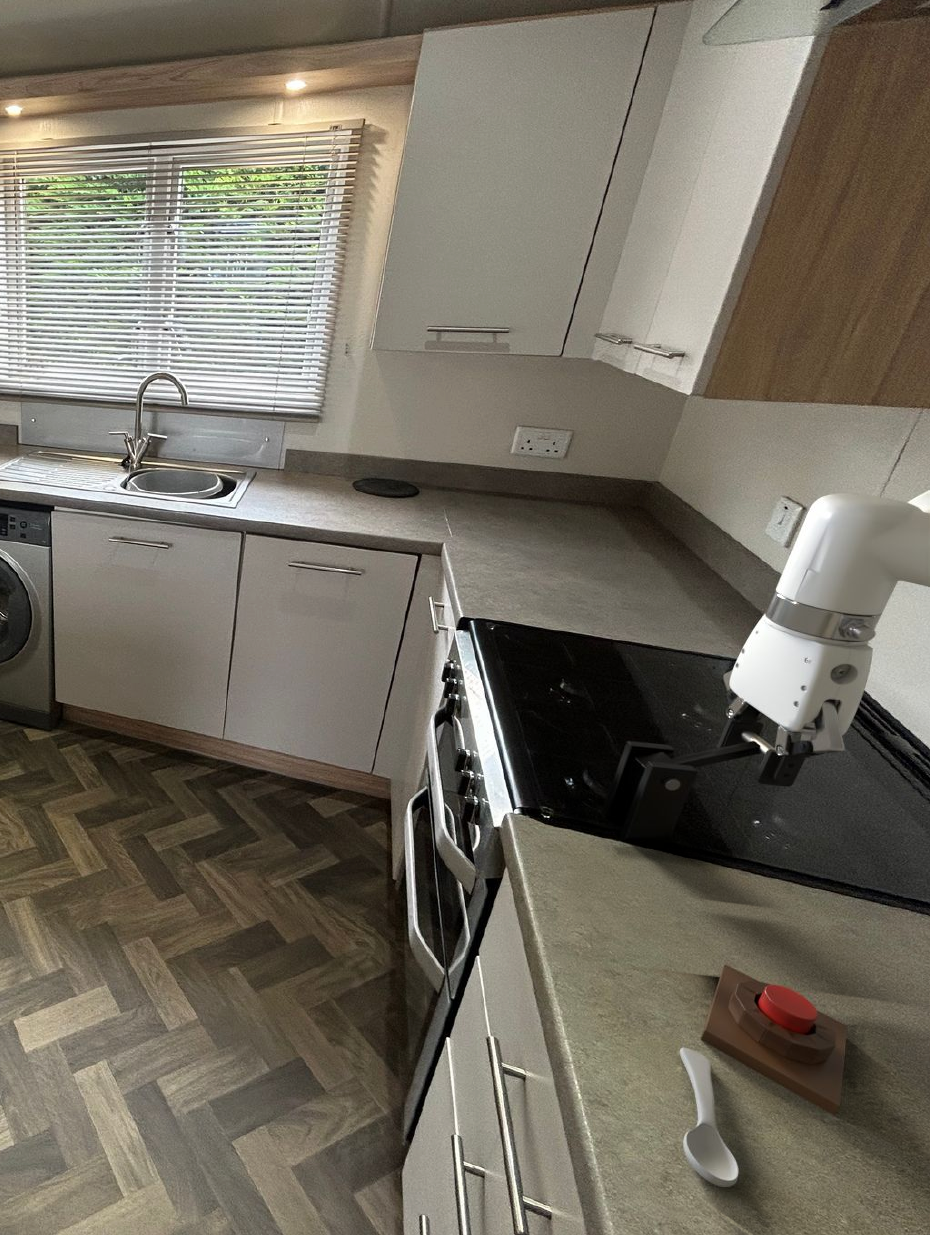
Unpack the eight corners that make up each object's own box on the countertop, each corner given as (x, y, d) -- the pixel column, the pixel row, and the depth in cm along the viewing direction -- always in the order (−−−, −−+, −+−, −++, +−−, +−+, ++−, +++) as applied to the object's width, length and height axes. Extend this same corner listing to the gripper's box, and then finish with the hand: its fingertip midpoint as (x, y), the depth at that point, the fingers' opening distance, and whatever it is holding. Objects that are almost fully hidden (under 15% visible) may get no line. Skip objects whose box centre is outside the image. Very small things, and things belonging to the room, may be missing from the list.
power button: (759, 991, 61) (767, 977, 61) (811, 1018, 59) (819, 1003, 58) (754, 1014, 59) (762, 999, 59) (807, 1042, 57) (816, 1027, 56)
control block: (719, 972, 66) (731, 949, 65) (841, 1035, 60) (856, 1010, 59) (700, 1039, 60) (712, 1015, 59) (833, 1116, 54) (850, 1090, 53)
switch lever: (752, 740, 79) (749, 723, 78) (787, 767, 74) (784, 749, 73) (631, 767, 82) (627, 750, 82) (657, 794, 78) (653, 776, 77)
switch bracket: (657, 819, 86) (690, 738, 82) (707, 873, 78) (746, 786, 73) (559, 808, 88) (586, 728, 83) (598, 859, 79) (630, 774, 75)
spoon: (682, 1176, 50) (691, 1157, 50) (666, 1052, 59) (674, 1035, 59) (737, 1206, 49) (747, 1186, 48) (712, 1074, 58) (721, 1056, 57)
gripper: (947, 659, 62) (859, 823, 69) (794, 589, 78) (735, 728, 84) (849, 652, 63) (772, 814, 70) (718, 584, 79) (665, 721, 86)
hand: (752, 765), depth 77 cm, fingers closed on switch lever, 5 cm apart
